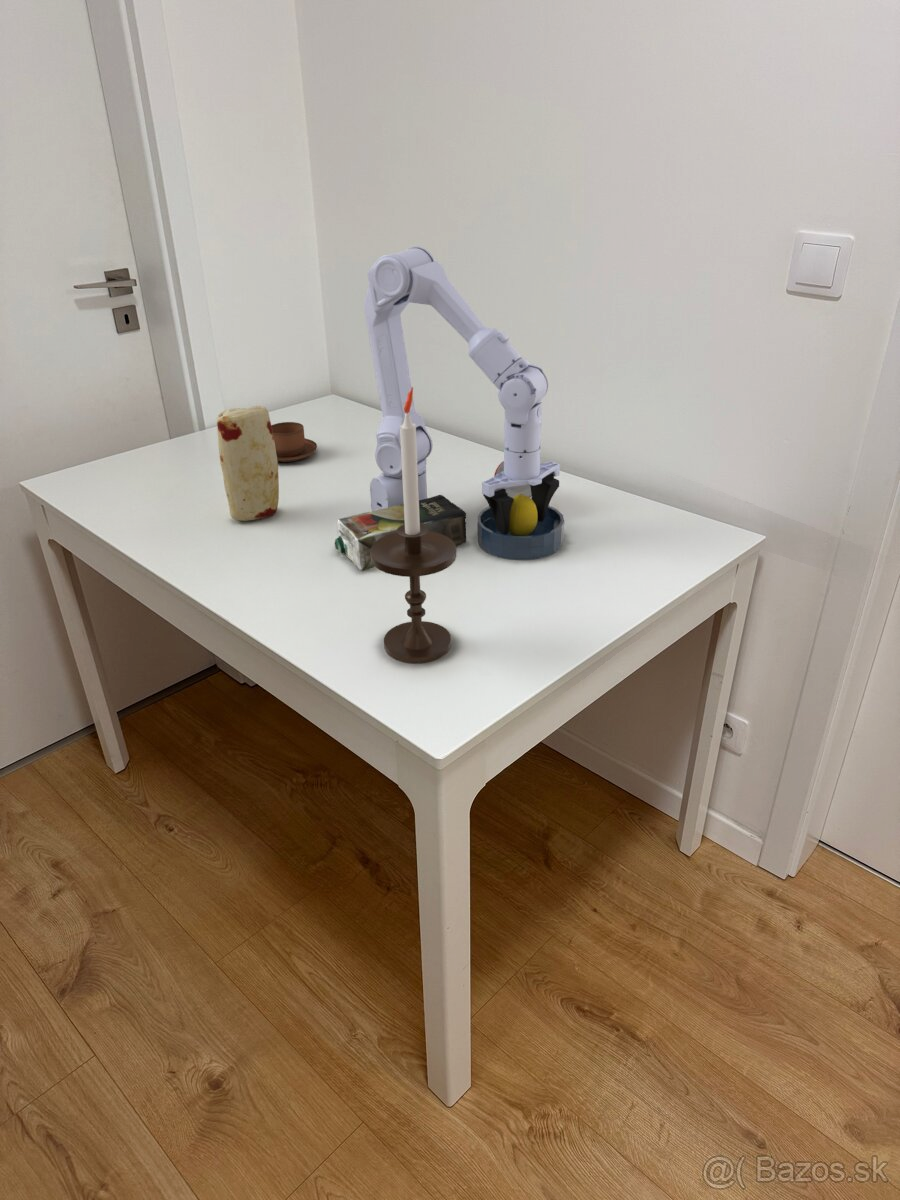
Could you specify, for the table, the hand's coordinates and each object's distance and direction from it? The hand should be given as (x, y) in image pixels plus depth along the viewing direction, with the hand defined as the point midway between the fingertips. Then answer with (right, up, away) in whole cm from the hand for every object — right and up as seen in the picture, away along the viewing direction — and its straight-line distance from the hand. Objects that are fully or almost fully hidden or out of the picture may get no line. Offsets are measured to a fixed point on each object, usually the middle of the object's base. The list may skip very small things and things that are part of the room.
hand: (520, 525), depth 139 cm
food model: (-46, +2, +12) cm, 48 cm away
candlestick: (-16, -18, -25) cm, 35 cm away
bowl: (0, -2, +1) cm, 3 cm away
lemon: (0, -2, +1) cm, 3 cm away
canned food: (0, +10, +16) cm, 19 cm away
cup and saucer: (-45, +18, +38) cm, 61 cm away
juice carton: (-20, -4, 0) cm, 20 cm away
